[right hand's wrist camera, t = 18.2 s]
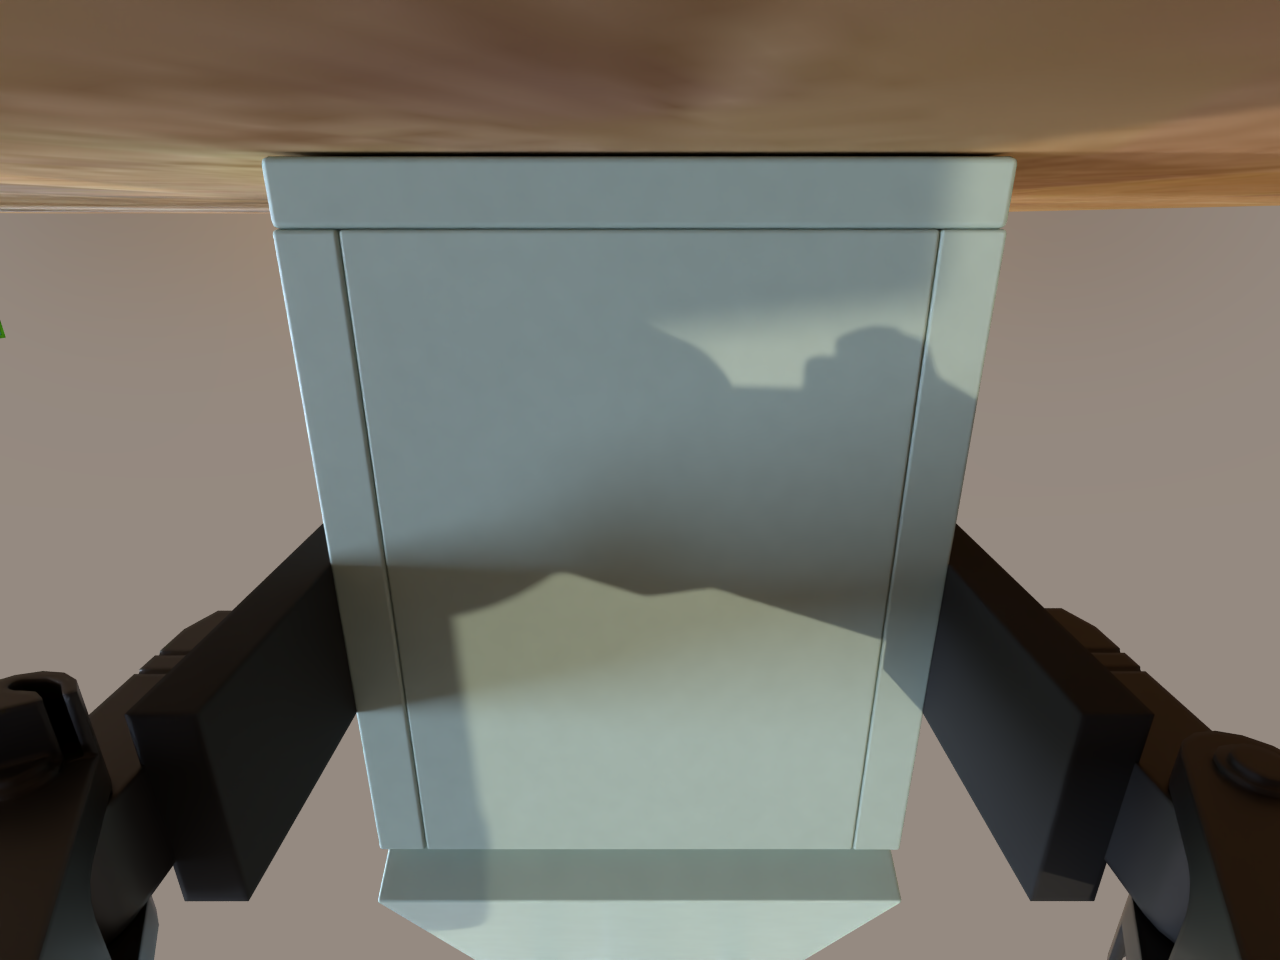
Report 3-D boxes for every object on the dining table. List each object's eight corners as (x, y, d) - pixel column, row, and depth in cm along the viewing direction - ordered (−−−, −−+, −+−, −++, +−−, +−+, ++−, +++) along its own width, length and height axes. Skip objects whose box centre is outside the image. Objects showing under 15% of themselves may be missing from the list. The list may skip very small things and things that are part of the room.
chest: (792, 197, 21) (768, 534, 25) (487, 197, 21) (511, 534, 25) (1021, 156, 8) (899, 851, 12) (256, 155, 8) (378, 851, 12)
